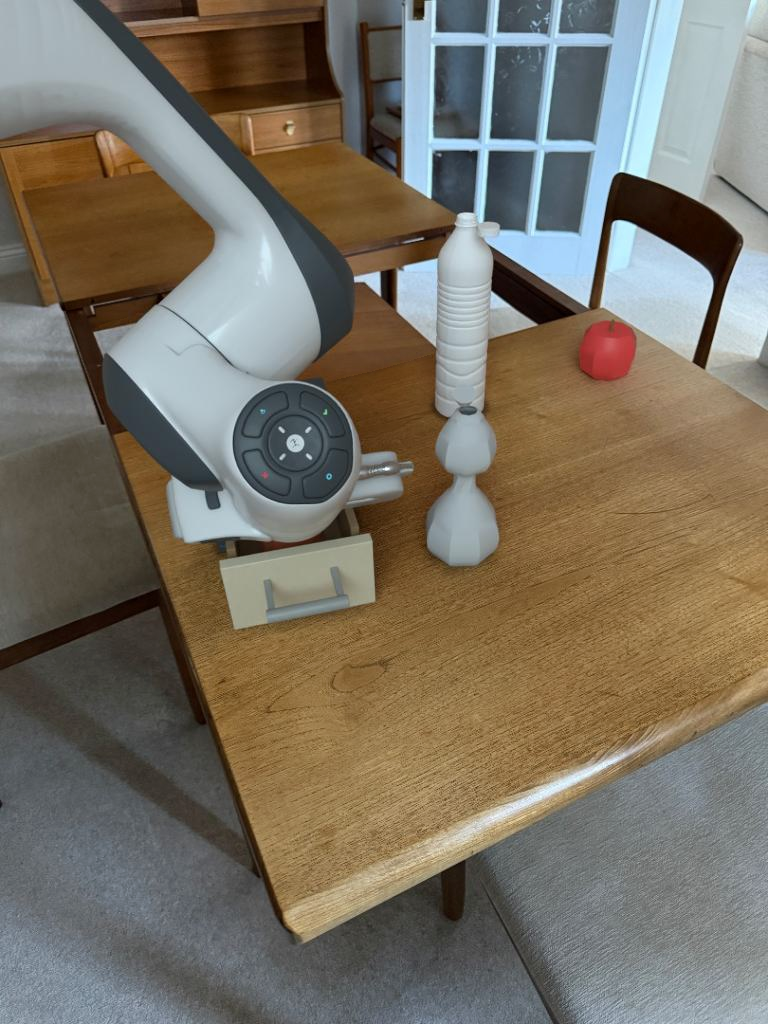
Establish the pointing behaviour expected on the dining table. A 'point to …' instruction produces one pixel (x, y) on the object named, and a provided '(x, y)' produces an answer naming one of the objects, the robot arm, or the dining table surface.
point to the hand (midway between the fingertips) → (286, 505)
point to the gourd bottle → (464, 488)
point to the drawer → (299, 576)
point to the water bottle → (463, 311)
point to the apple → (607, 350)
